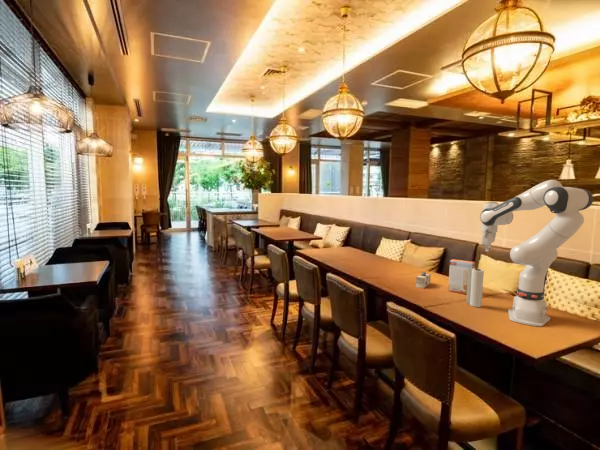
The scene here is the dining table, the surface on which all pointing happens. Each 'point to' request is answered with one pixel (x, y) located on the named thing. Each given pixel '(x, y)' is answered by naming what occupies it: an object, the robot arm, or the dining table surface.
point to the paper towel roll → (475, 287)
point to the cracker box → (459, 275)
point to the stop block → (423, 280)
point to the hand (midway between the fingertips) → (487, 250)
